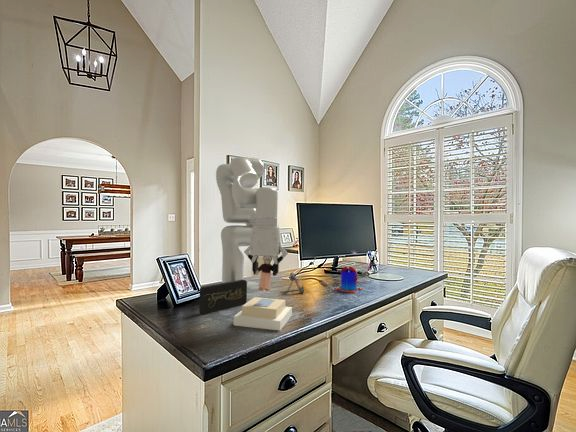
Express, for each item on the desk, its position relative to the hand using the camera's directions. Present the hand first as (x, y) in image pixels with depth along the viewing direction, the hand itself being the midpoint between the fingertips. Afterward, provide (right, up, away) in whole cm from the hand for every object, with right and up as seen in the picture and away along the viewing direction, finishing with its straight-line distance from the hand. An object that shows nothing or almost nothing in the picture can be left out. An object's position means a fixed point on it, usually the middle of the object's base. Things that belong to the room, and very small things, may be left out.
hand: (265, 273), depth 110 cm
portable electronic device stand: (+12, -17, +42) cm, 47 cm away
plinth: (0, -16, 0) cm, 16 cm away
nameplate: (-17, -16, +13) cm, 26 cm away
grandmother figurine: (0, -6, 0) cm, 6 cm away
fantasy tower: (+38, -17, +48) cm, 64 cm away
